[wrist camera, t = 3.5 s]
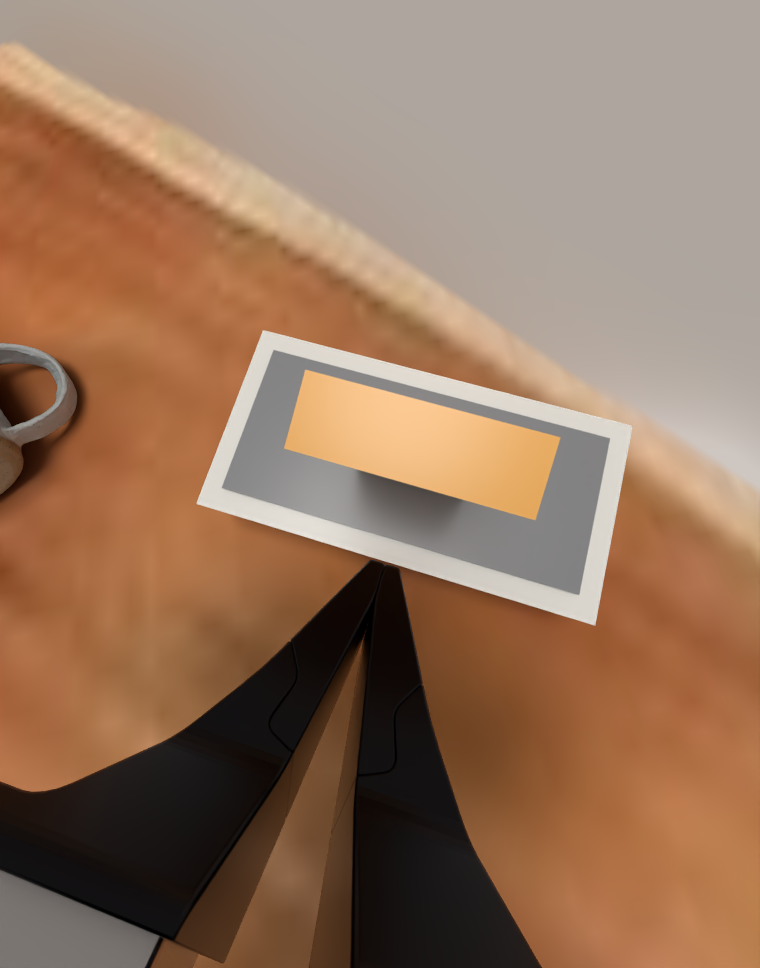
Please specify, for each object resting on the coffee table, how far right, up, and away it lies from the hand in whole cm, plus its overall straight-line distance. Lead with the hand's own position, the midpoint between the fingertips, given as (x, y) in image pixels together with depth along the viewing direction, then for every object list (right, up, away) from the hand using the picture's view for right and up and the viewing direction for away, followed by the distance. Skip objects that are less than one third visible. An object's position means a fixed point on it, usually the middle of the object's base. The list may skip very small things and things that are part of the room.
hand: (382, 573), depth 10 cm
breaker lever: (+1, +3, +6) cm, 7 cm away
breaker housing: (+2, +3, +10) cm, 11 cm away
